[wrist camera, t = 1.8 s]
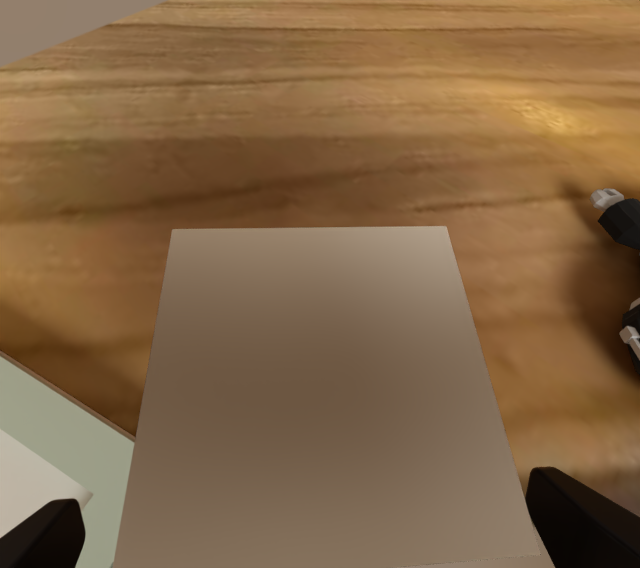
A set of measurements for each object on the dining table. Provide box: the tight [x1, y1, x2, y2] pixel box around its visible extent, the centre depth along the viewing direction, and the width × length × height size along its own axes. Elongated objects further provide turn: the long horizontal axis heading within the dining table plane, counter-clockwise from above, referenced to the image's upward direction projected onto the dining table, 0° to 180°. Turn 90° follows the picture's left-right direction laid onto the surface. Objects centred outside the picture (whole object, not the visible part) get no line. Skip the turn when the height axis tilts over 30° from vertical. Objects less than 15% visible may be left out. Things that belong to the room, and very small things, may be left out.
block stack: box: [113, 226, 541, 568], centre depth 11 cm, size 4×4×13 cm
